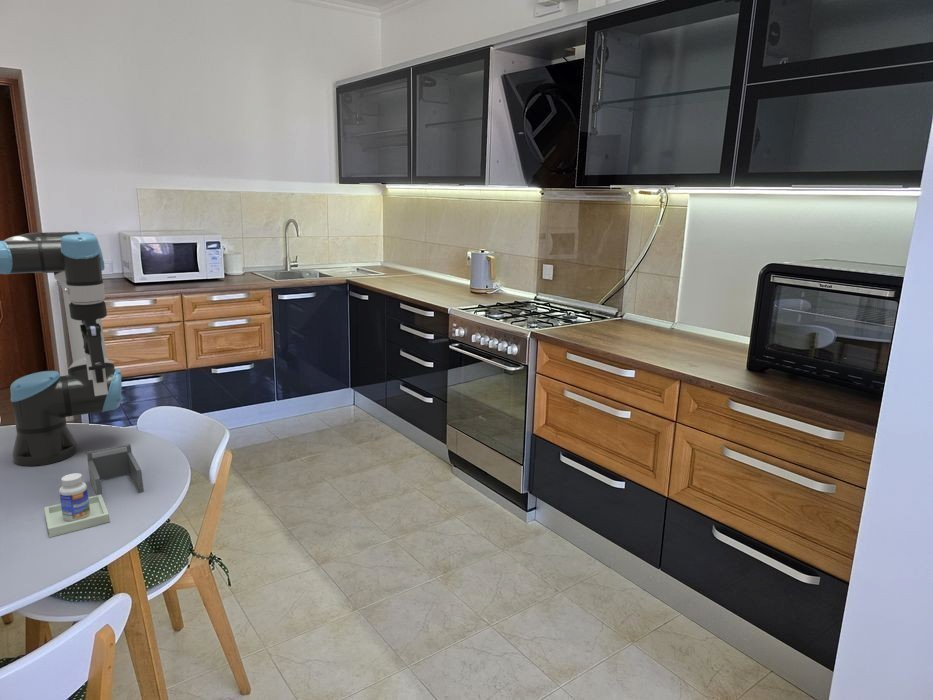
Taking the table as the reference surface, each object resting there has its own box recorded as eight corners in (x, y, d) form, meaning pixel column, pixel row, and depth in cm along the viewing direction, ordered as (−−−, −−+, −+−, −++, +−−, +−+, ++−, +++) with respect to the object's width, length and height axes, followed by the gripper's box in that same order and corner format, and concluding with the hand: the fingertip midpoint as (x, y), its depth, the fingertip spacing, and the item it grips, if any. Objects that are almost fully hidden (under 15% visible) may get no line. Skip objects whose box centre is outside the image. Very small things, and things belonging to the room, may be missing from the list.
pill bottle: (77, 523, 143) (72, 483, 141) (57, 520, 144) (51, 480, 142) (96, 511, 148) (91, 473, 146) (76, 508, 149) (71, 470, 147)
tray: (45, 515, 147) (44, 507, 147) (102, 501, 154) (101, 494, 153) (49, 537, 138) (48, 529, 138) (109, 521, 145) (108, 514, 144)
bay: (90, 480, 164) (86, 452, 163) (133, 471, 170) (130, 443, 168) (98, 502, 154) (94, 471, 152) (143, 491, 159) (140, 462, 157)
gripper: (64, 293, 158) (75, 375, 163) (73, 313, 138) (85, 404, 144) (98, 291, 162) (108, 370, 167) (112, 309, 142) (122, 399, 148)
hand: (97, 386), depth 156 cm, fingers open, 13 cm apart
